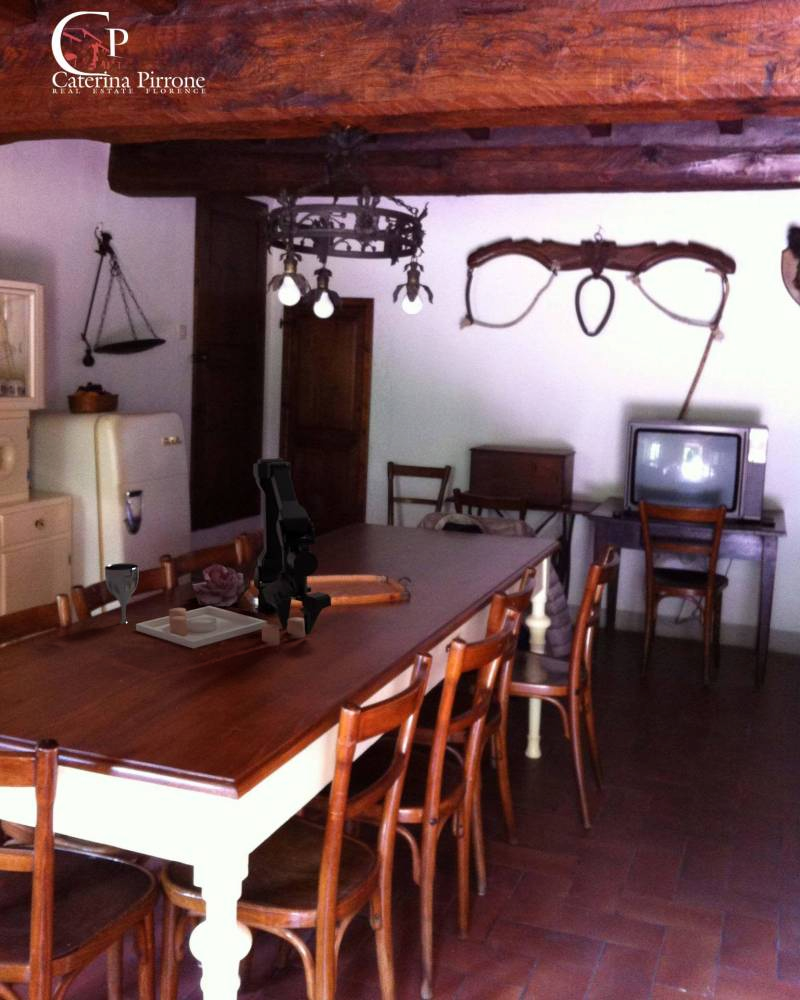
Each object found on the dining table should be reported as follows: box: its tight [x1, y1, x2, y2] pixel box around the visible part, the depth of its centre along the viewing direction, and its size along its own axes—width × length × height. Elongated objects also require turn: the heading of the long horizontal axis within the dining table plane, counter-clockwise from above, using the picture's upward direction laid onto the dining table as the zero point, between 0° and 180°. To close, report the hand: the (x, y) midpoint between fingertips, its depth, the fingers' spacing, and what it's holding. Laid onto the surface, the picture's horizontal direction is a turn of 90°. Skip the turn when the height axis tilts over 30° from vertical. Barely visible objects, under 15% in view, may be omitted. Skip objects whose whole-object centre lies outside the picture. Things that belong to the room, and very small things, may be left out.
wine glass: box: [104, 562, 140, 625], centre depth 246 cm, size 8×8×15 cm
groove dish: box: [135, 605, 268, 649], centre depth 241 cm, size 22×22×3 cm
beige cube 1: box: [287, 617, 306, 639], centre depth 238 cm, size 4×4×4 cm
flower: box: [191, 563, 251, 607], centre depth 266 cm, size 15×15×10 cm
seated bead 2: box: [170, 616, 188, 637], centre depth 236 cm, size 4×4×4 cm
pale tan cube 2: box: [261, 624, 280, 647], centre depth 232 cm, size 4×4×4 cm
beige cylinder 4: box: [168, 607, 187, 622], centre depth 243 cm, size 4×4×4 cm
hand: (296, 631), depth 238 cm, fingers open, 8 cm apart
